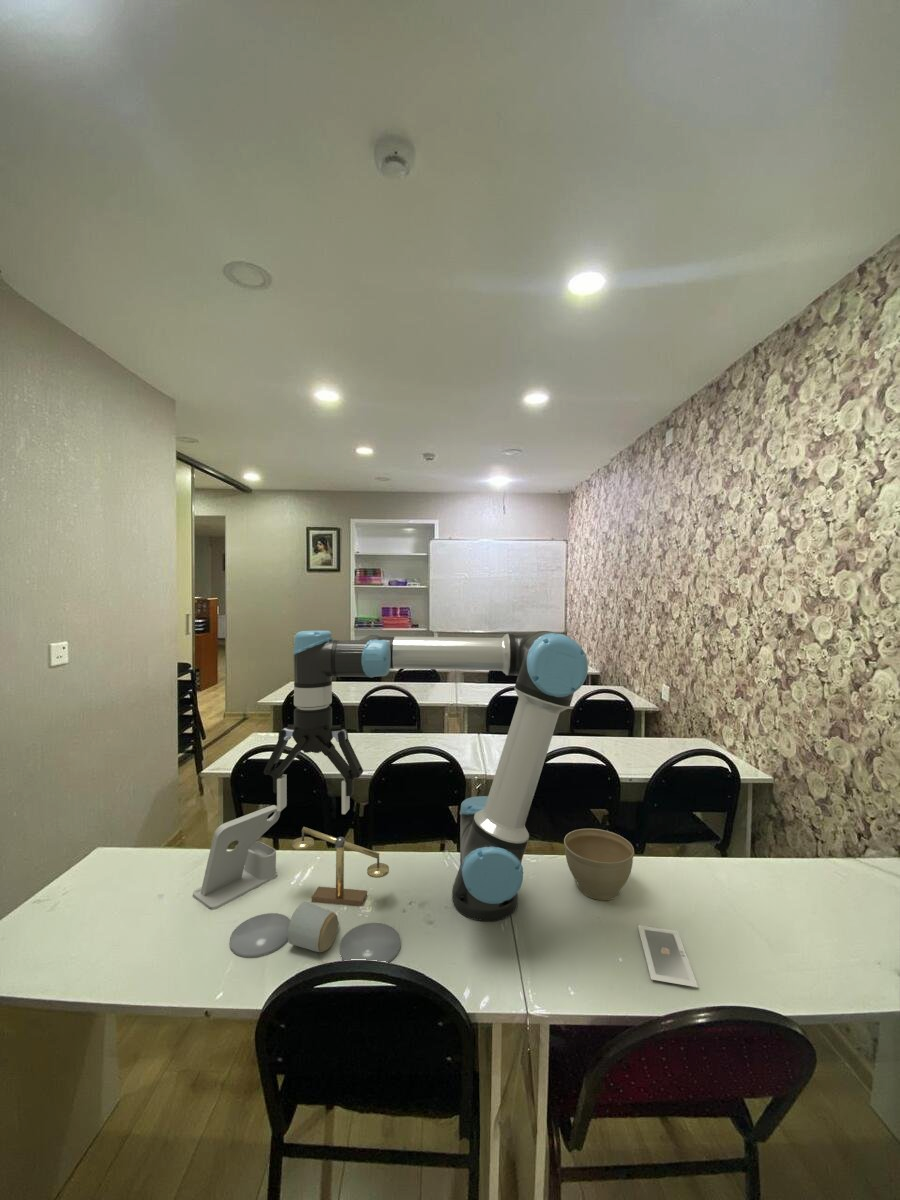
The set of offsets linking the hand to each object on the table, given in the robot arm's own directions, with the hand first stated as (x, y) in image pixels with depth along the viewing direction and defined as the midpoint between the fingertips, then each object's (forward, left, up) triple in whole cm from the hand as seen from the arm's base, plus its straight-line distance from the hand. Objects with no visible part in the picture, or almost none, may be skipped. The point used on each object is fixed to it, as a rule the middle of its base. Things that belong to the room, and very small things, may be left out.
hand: (313, 810), depth 97 cm
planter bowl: (-61, -26, -27) cm, 72 cm away
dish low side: (-12, 0, -26) cm, 29 cm away
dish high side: (+11, 0, -26) cm, 28 cm away
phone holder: (+26, -15, -27) cm, 40 cm away
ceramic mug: (-1, 0, -27) cm, 27 cm away
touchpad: (-70, -5, -27) cm, 75 cm away
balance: (-1, -14, -26) cm, 30 cm away
